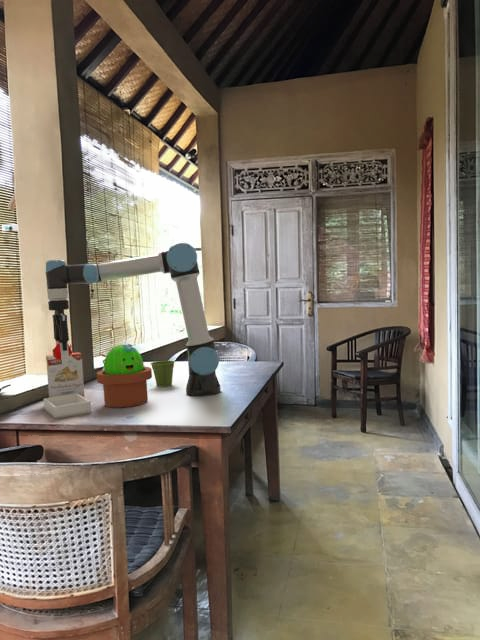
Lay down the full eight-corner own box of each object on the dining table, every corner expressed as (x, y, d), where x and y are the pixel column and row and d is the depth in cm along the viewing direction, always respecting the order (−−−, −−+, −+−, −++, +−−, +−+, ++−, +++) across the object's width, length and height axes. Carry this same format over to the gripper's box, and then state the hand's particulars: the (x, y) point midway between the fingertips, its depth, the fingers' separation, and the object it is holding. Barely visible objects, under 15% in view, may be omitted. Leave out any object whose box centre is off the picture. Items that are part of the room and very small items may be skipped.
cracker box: (51, 406, 210) (47, 356, 208) (49, 403, 215) (45, 355, 214) (85, 401, 216) (81, 353, 215) (82, 398, 222) (79, 351, 220)
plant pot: (178, 382, 247) (177, 359, 246) (173, 387, 235) (171, 363, 235) (155, 383, 248) (154, 360, 248) (148, 388, 237) (147, 364, 236)
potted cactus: (93, 402, 212) (88, 344, 210) (142, 394, 223) (138, 338, 221) (107, 412, 193) (102, 348, 191) (161, 403, 204) (157, 342, 203)
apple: (49, 347, 193) (68, 337, 196) (48, 348, 199) (67, 339, 202) (57, 363, 193) (77, 353, 196) (56, 364, 199) (75, 355, 203)
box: (91, 412, 194) (90, 401, 194) (55, 419, 187) (54, 407, 187) (77, 403, 212) (76, 393, 211) (44, 409, 204) (43, 398, 204)
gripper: (74, 299, 190) (79, 359, 192) (62, 299, 207) (66, 354, 208) (53, 300, 186) (58, 361, 188) (43, 300, 203) (47, 356, 204)
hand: (62, 357), depth 198 cm, fingers closed on apple, 7 cm apart
